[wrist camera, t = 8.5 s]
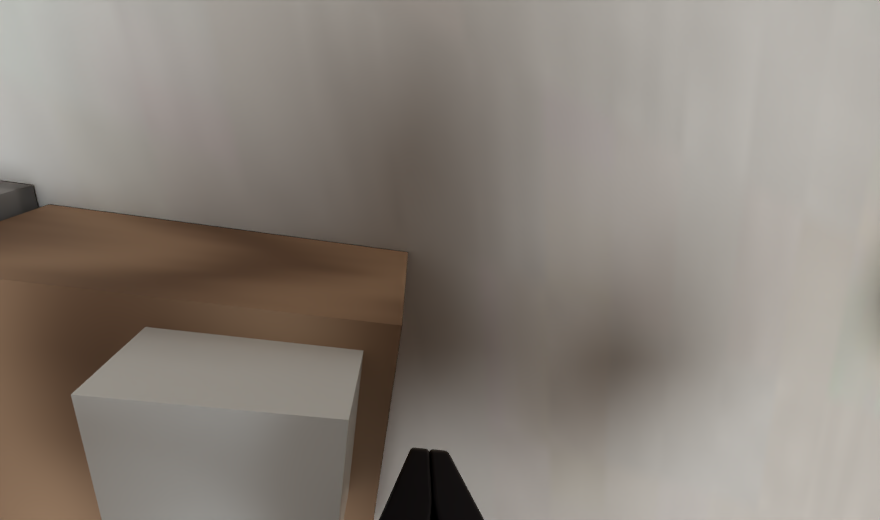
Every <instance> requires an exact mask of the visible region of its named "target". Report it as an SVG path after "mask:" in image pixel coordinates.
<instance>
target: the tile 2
mask: <svg viewBox="0 0 880 520" xmlns="http://www.w3.org/2000/svg"><path fill="white" fill-rule="evenodd" d="M362 360H363V350H354V349H345V348H336V347H326V346H317V345H308V344H299V343H290V342H280V341H271V340H262V339H253V338H243V337H234V336H225V335H216V334H206V333H197V332H188V331H179V330H170V329H160V328H151V327H145V328H144V329H142V330H141V331H140V332H139V333H138V334H137V335H136V336H135V337H134V338H133V339H131V340H130V341H129V342H128V343H127V344H126V345H125V346H124V347H123V348H122V349H120V350H119V351H118V352H117V353H116V354H115V355H114V356H113V357H112V358H111V359H109V360H108V361H107V362H106V363H105V364H104V365H103V366H102V367H101V368H100V369H98V370H97V371H96V372H95V373H94V374H93V375H92V376H91V377H90V378H89V379H87V380H86V381H85V382H84V383H83V384H82V385H81V386H80V387H79V388H78V389H76V390H75V391H74V392H73V393H72V394H71V398H72V402H73V406H74V410H75V414H76V418H77V422H78V426H79V430H80V434H81V438H82V442H83V446H84V450H85V454H86V458H87V462H88V466H89V470H90V475H91V479H92V483H93V487H94V491H95V495H96V499H97V503H98V507H99V511H100V515H101V519H102V520H344V514H345V509H346V503H347V498H348V492H349V483H350V473H351V464H352V454H353V445H354V436H355V426H356V417H357V407H358V398H359V389H360V379H361V370H362Z"/></svg>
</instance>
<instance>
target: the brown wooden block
mask: <svg viewBox="0 0 880 520" xmlns="http://www.w3.org/2000/svg"><path fill="white" fill-rule="evenodd" d="M407 258H408V252H402V251H394V250H387V249H379V248H372V247H364V246H357V245H349V244H342V243H334V242H327V241H319V240H312V239H304V238H297V237H289V236H282V235H274V234H267V233H259V232H252V231H244V230H237V229H229V228H222V227H214V226H207V225H199V224H192V223H184V222H177V221H169V220H162V219H154V218H147V217H139V216H132V215H124V214H117V213H109V212H102V211H94V210H86V209H79V208H71V207H64V206H56V205H49V204H48V205H46V206H43V207H40V208H37V209H34V210H31V211H28V212H25V213H22V214H20V215H17V216H14V217H11V218H8V219H5V220H2V221H0V520H102V519H101V515H100V511H99V507H98V503H97V499H96V495H95V491H94V487H93V483H92V479H91V475H90V470H89V466H88V462H87V458H86V454H85V450H84V446H83V442H82V438H81V434H80V430H79V426H78V422H77V418H76V414H75V410H74V406H73V402H72V398H71V394H72V393H73V392H74V391H75V390H76V389H78V388H79V387H80V386H81V385H82V384H83V383H84V382H85V381H86V380H87V379H89V378H90V377H91V376H92V375H93V374H94V373H95V372H96V371H97V370H98V369H100V368H101V367H102V366H103V365H104V364H105V363H106V362H107V361H108V360H109V359H111V358H112V357H113V356H114V355H115V354H116V353H117V352H118V351H119V350H120V349H122V348H123V347H124V346H125V345H126V344H127V343H128V342H129V341H130V340H131V339H133V338H134V337H135V336H136V335H137V334H138V333H139V332H140V331H141V330H142V329H144V328H145V327H151V328H160V329H170V330H179V331H188V332H197V333H206V334H216V335H225V336H234V337H243V338H253V339H262V340H271V341H280V342H290V343H299V344H308V345H317V346H326V347H336V348H345V349H354V350H363V360H362V370H361V379H360V389H359V398H358V407H357V417H356V426H355V436H354V445H353V454H352V464H351V473H350V483H349V492H348V498H347V503H346V509H345V514H344V520H374V513H375V506H376V499H377V493H378V486H379V479H380V472H381V465H382V459H383V452H384V445H385V438H386V431H387V425H388V418H389V411H390V404H391V397H392V390H393V384H394V377H395V370H396V363H397V356H398V350H399V343H400V336H401V329H402V320H403V308H404V295H405V283H406V271H407Z"/></svg>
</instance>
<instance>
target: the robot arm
mask: <svg viewBox="0 0 880 520" xmlns="http://www.w3.org/2000/svg"><path fill="white" fill-rule="evenodd" d="M379 520H484V519H483V517H482V515H481V513H480V511H479V509H478V508H477V506H476V504H475V502H474V500H473V498H472V496H471V494H470V492H469V491H468V489H467V487H466V485H465V483H464V481H463V479H462V477H461V475H460V473H459V472H458V470H457V468H456V466H455V464H454V462H453V460H452V458H451V456H450V455H449V453H448V452H447V451H444V450H434V449H432V450H430V451H428V449H423V448H412V449H411V450H410V451H409V454H408V456H407V458H406V460H405V463H404V465H403V467H402V469H401V472H400V474H399V476H398V478H397V481H396V483H395V485H394V487H393V490H392V492H391V494H390V496H389V499H388V501H387V503H386V505H385V508H384V510H383V512H382V514H381V517H380V519H379Z"/></svg>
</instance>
